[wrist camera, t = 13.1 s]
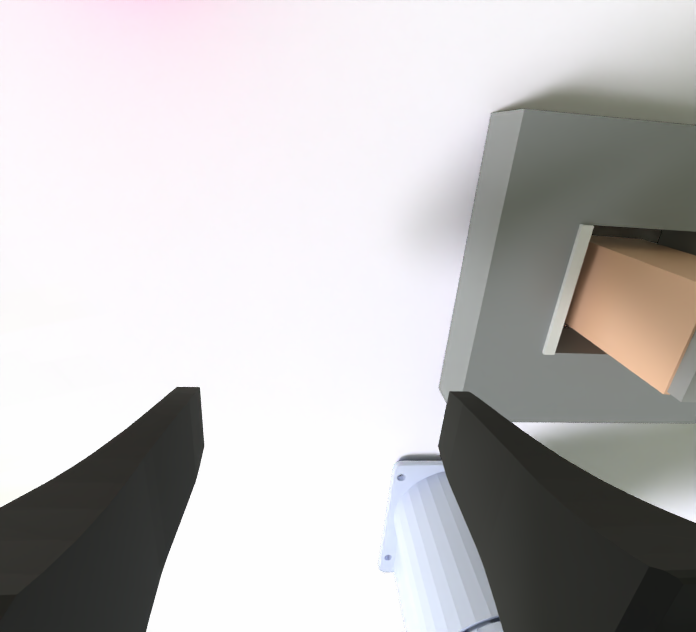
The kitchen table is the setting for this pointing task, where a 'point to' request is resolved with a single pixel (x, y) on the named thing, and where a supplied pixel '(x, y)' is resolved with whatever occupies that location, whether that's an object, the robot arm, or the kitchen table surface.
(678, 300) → the plug
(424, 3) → the kitchen table surface
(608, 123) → the socket block
